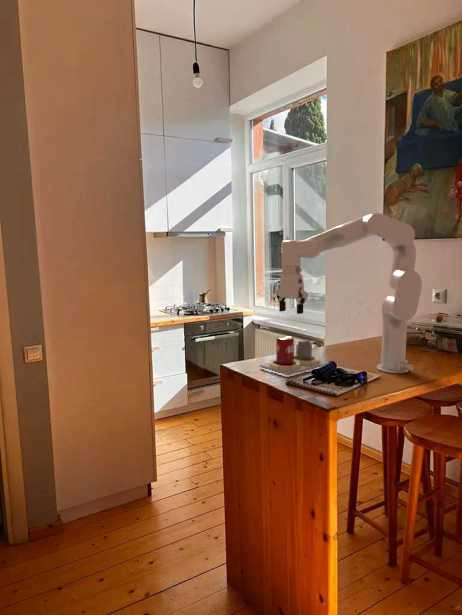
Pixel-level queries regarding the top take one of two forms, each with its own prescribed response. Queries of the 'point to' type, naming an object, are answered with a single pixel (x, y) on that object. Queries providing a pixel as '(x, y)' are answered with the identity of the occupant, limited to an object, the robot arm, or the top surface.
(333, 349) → the top surface
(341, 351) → the top surface
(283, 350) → the soda can
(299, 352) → the seated plug
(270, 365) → the octagonal socket board
